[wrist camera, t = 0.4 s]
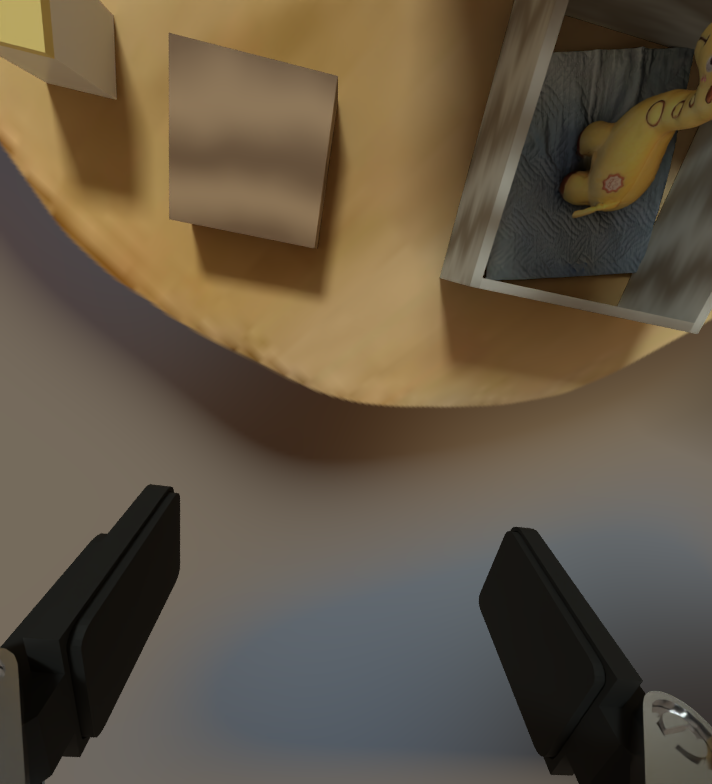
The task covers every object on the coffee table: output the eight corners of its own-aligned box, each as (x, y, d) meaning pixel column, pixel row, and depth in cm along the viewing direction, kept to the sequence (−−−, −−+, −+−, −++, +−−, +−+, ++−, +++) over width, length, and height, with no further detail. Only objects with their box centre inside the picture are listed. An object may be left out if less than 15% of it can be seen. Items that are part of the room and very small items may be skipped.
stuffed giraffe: (693, 47, 30) (1020, -134, 15) (635, 271, 37) (818, 295, 22) (502, 58, 30) (643, -110, 15) (481, 279, 37) (564, 308, 23)
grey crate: (518, -14, 28) (593, -125, 20) (740, 55, 31) (891, -18, 22) (439, 278, 36) (469, 286, 28) (620, 315, 39) (697, 334, 30)
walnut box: (195, 66, 30) (168, 32, 25) (337, 102, 31) (337, 75, 26) (192, 223, 34) (169, 219, 29) (317, 248, 35) (314, 248, 30)
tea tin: (36, -7, 27) (-78, -104, 20) (114, 14, 28) (33, -72, 20) (45, 84, 29) (-55, 27, 22) (118, 101, 30) (45, 52, 22)
